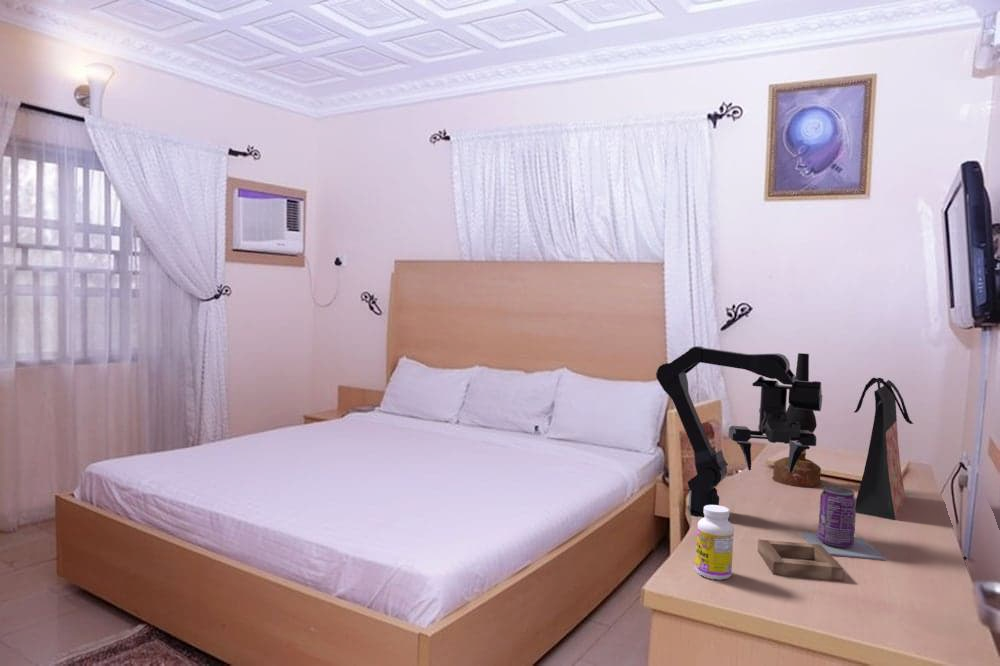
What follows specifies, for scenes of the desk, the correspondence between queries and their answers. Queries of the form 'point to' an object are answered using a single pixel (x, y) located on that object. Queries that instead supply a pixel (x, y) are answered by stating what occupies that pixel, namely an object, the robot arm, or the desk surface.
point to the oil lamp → (804, 469)
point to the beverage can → (837, 516)
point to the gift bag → (883, 456)
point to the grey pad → (847, 548)
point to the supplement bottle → (714, 543)
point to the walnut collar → (819, 569)
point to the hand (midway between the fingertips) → (769, 471)
